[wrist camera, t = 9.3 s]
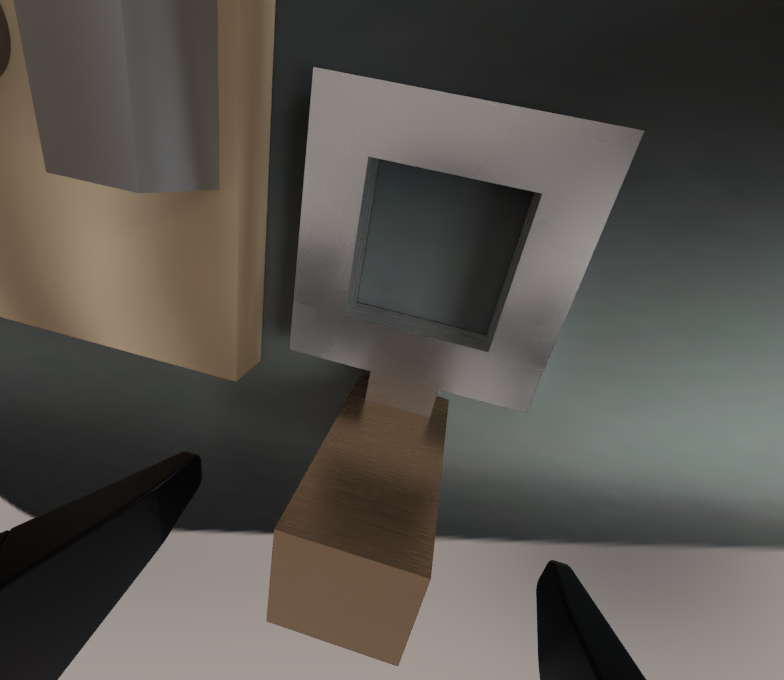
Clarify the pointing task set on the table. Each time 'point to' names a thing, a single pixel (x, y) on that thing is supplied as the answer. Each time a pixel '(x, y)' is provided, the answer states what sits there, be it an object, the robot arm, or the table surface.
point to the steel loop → (417, 336)
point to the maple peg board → (138, 174)
